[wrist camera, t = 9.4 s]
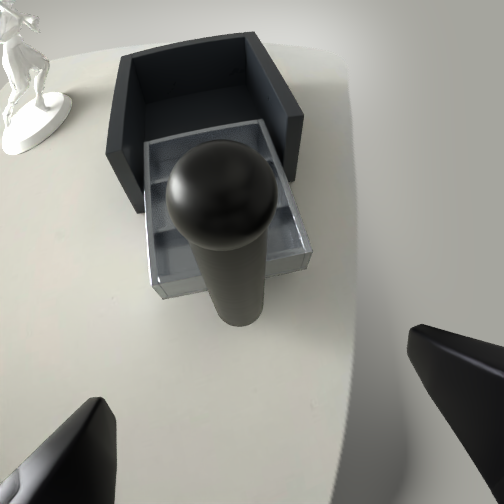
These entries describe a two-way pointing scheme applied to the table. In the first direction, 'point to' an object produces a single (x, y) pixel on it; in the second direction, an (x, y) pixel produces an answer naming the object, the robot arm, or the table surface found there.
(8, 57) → the figurine
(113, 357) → the table surface
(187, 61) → the grey drawer case
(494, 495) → the robot arm
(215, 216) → the pull-out drawer
